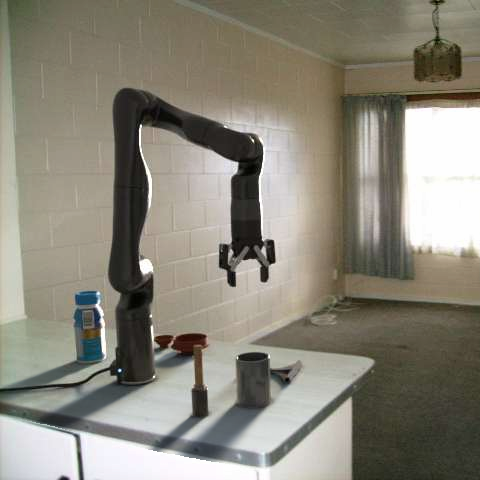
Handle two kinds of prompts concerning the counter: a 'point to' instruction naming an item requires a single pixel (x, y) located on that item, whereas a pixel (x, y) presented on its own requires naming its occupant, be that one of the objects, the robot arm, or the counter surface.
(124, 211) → the robot arm
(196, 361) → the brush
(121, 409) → the counter surface
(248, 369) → the grey metal cup
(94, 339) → the beverage bottle
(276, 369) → the bracket
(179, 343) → the pottery
